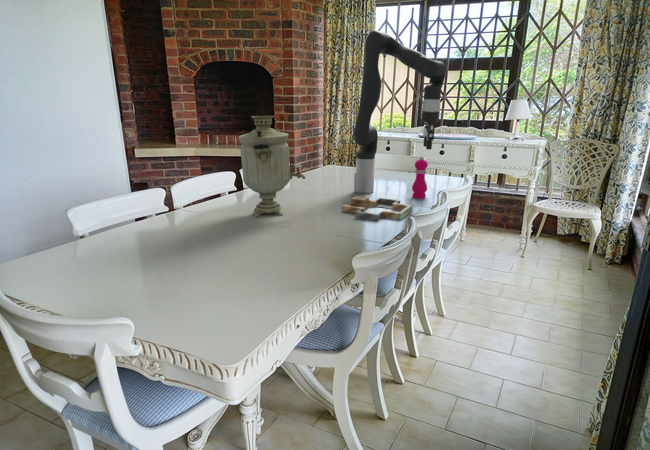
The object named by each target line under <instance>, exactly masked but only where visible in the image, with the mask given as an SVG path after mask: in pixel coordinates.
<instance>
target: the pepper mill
mask: <svg viewBox="0 0 650 450" xmlns="http://www.w3.org/2000/svg"><path fill="white" fill-rule="evenodd" d="M428 166H429V165H428V161H427V160H426V159H424V156H422V155H420V157H419V159H418V160H416V161H415V162H414V168H415V180H414V182H413V184H412V187H411V190H412V192H413V193H412V198H414V199H418V200H419V199H426V196H427V195H426V192H427V191H428V185H427V181H426V179H425V178H426V177H425V176H426V173H427V170H426V169H427V168H428Z"/></svg>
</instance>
